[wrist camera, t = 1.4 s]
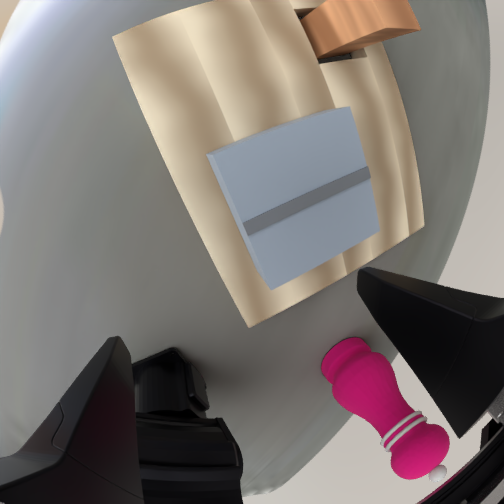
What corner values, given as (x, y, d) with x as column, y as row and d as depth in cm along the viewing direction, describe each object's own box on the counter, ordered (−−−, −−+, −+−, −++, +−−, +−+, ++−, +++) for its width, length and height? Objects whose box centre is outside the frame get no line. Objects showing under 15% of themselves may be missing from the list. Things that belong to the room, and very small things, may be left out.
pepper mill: (368, 323, 29) (484, 439, 11) (365, 363, 32) (455, 467, 14) (315, 349, 28) (423, 494, 10) (317, 386, 31) (400, 509, 13)
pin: (310, 60, 17) (386, 27, 9) (294, 24, 16) (360, -22, 8) (343, 55, 18) (421, 30, 10) (328, 21, 16) (399, -15, 8)
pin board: (242, 314, 24) (248, 328, 22) (117, 46, 13) (112, 37, 11) (411, 220, 26) (424, 225, 24) (344, -3, 15) (356, -10, 14)
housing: (257, 271, 20) (272, 291, 17) (206, 154, 16) (213, 154, 13) (356, 219, 21) (381, 231, 18) (325, 110, 17) (351, 106, 14)
